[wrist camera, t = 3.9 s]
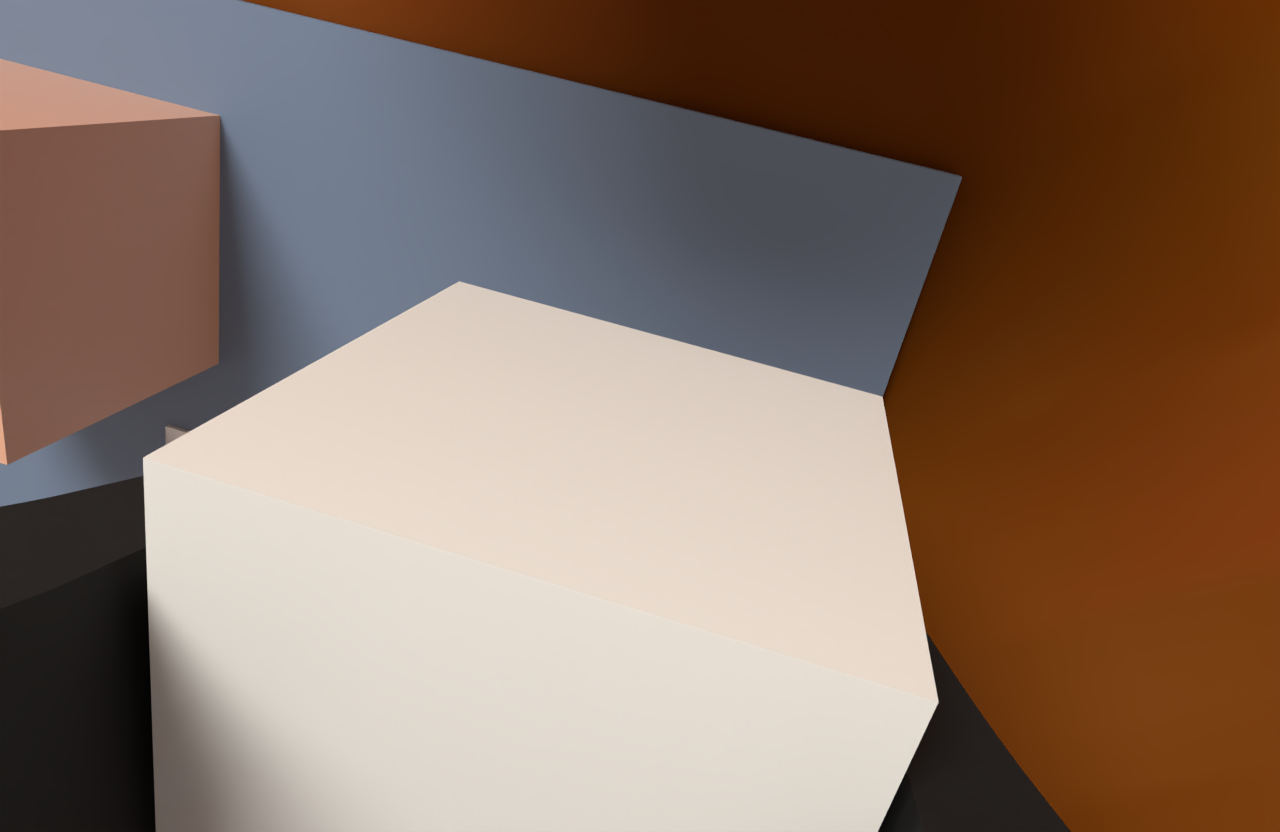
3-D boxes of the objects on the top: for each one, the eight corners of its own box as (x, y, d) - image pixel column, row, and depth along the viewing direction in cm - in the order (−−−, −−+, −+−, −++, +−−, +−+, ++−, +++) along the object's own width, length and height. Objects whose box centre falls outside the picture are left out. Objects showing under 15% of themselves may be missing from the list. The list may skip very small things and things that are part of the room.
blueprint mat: (706, 873, 21) (704, 887, 20) (20, 643, 22) (7, 652, 22) (959, 175, 14) (963, 178, 13) (-64, -74, 16) (-85, -77, 15)
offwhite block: (761, 731, 11) (718, 1169, 7) (415, 620, 12) (158, 960, 7) (882, 396, 9) (939, 701, 5) (458, 281, 10) (143, 457, 5)
